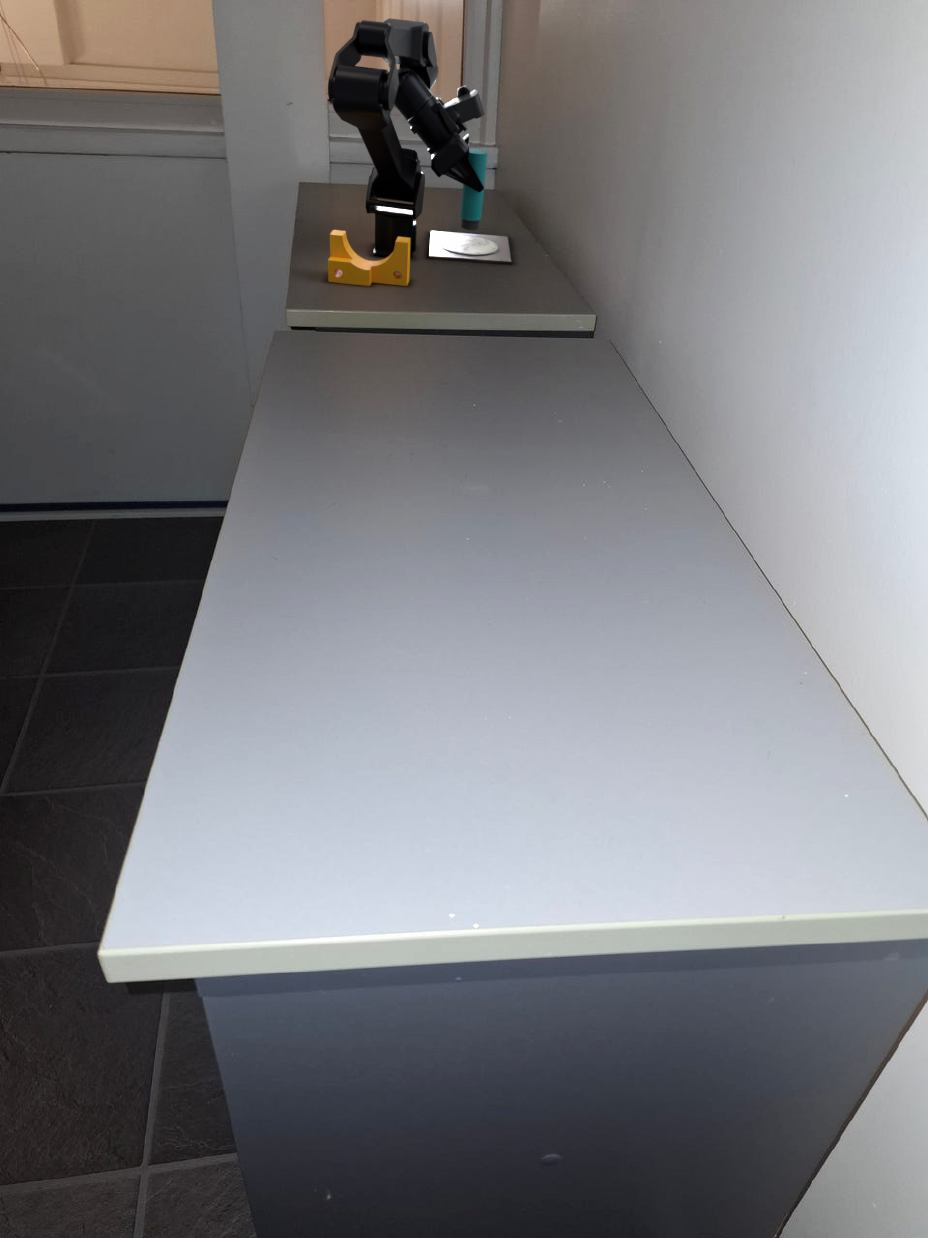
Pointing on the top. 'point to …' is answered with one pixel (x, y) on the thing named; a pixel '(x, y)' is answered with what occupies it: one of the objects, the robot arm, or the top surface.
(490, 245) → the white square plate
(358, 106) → the robot arm
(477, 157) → the dot marker
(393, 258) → the pipe clamp
